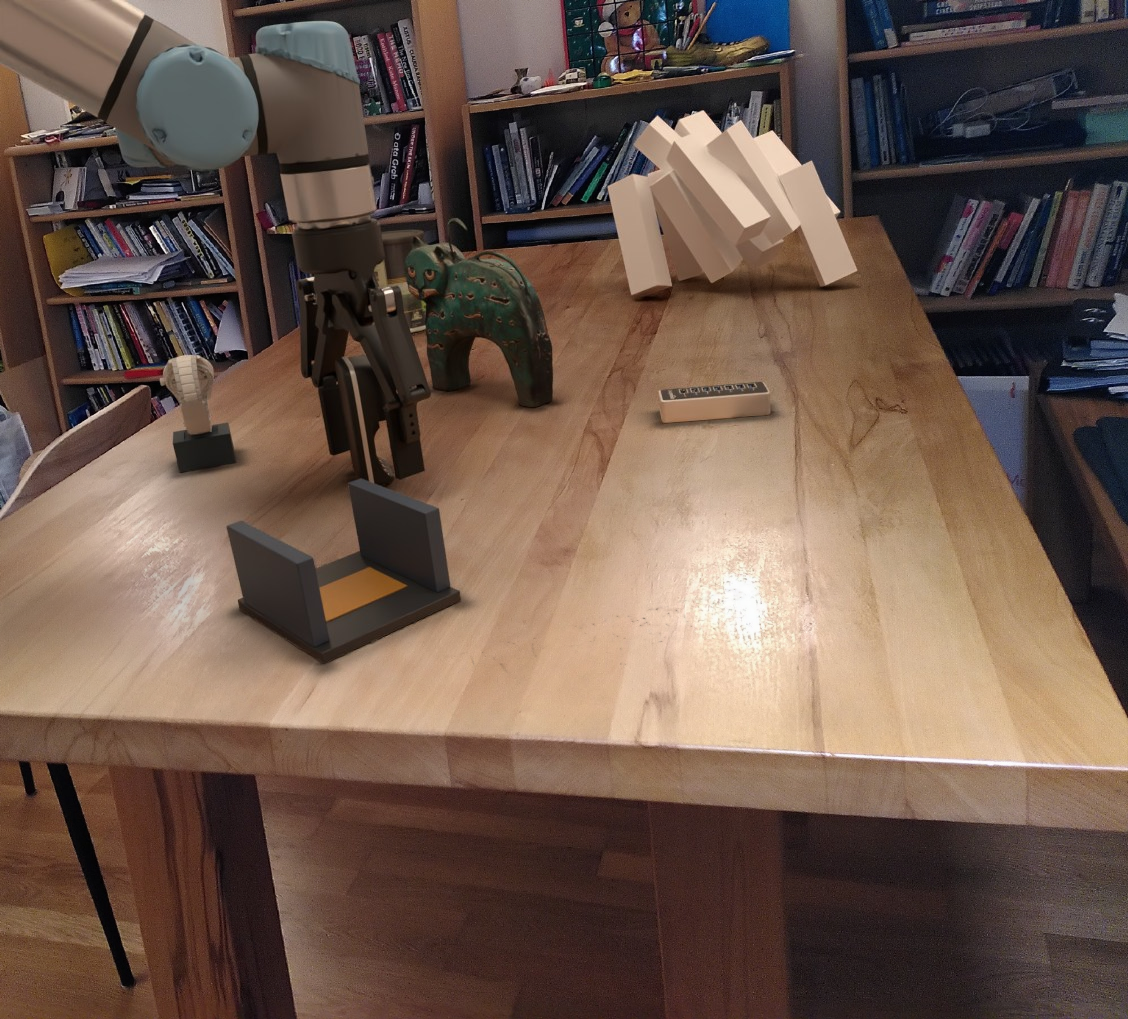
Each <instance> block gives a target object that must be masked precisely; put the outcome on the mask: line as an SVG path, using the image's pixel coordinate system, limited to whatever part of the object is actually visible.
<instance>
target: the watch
mask: <svg viewBox="0 0 1128 1019" xmlns="http://www.w3.org/2000/svg"><path fill="white" fill-rule="evenodd" d="M162 373H163V374H162V375H163V376H162V377H160V378H159V383H160V386H161V387H163V386H166V388H167V389H168V390H169V391H170V393H172V395H173V396H174V397H175V398H176V401H178V403H179V404H180V405H179V406H180V411H181V415H182V418H183V426H184V427H185V428H186V429H182V430H176V431H173V432H172V448H173V451H174V454H175V459H176V463H177V467H178V471H179V473H180V474H181V473H187V472H193V471H197V470H203V469H208V468H213V467H219V466H224V465H225V466H226V465H229V464H234V463H237V460H236V452H235V446H234V442H233V436H232V432H231V428H230V424H229V422H222V423H216V424H212V418H211V413H210V408H209V401H208V400H210V399H211V398H212V391H213V386H214V382H215V370H214V367H213V365H212V363H211V362H210V361H209V360H207V359H206V358H205V357H202V356H201V355H199V354H197V355H196V354H184V355H180V356H177V357H173V358H170V359H168V361H167V363H166V365H165V366H164V368H163V372H162Z"/></svg>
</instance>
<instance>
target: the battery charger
mask: <svg viewBox="0 0 1128 1019" xmlns="http://www.w3.org/2000/svg"><path fill="white" fill-rule="evenodd" d="M335 369H336V376H337V382H336V383H337V384H338V387H339V393H340V399H341V405H342V410H343V416H344V421H345V427H346V432H347V438H348V444H349V449H350V451H349V455H350V460H351V467H352V469H353V471H354V473H355V476H356V478H357V480H358V479H364V480H367V481H369V482H372V483H374V484H377V485H380V486H384V485H388V484H391V483H393V482H394V481H395V473H394V471H393V470H392V469H391V467H390V465H389V463H388V462H387V461H386V459H384V458H382V457H381V456H379V455H377V450H376V443H375V439H376V438H375V437H376V435H377V432H378V431H379V430H380V428H381V426H380V422H385V421H386V417H385V411H384V409H383V407H384V406H385V405H386V404H388V400H387V398H386V396H385V394H384V392H383V390H382V388H381V386H380V384H379V381H378V379H377V377H376V375H375V373H374V371H373V369H372V367H371V365H370V363H369V361H368V359H367V356H366V354H359V355H354V356H344V357H342V358H340V359H337V360H336V361H335Z"/></svg>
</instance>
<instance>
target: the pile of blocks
mask: <svg viewBox="0 0 1128 1019" xmlns="http://www.w3.org/2000/svg"><path fill="white" fill-rule="evenodd" d="M632 145H633V146H634V147H635V148H636V149H637V150H638V151H640V153H642V154H643V155H644V156H645V157H646V159H648V160H649V161H651V162H652V163H653V164H654V165H655V166H656V167H657V168H658V169H657V170H655V171H652V172H649V173H647V176H646V175H641V174H636V173H631V174H629V175H628V176H626V177H623V178H621V179H619V180H618V181H615V182H613V183H611V184H609V185H608V186H607V192H608V196H609V200H610V206H611V209H612V214H613V219H614V223H615V227H616V232H617V236H618V241H619V246H620V250H621V255H622V260H623V264H624V268H625V273H626V278H627V282H628V286H629V292H630V296H638V297H639V296H641V297H647V296H650V295H653V294H655V293H658V292H660V291H663V290H665V289H668V288H671V287H673V283H672V278H671V273H670V270H669V265H668V261H667V256H666V252H665V247H664V242H663V238H664V240H665V243H666V246H667V249H668V252H669V255H670V258H671V262H672V264H673V267H674V271H675V274H676V277H677V280H678V281H679V282H681V281H684V280H687V279H691V278H694V277H697V276H700V275H701V276H702V275H703V273H704V274H705V276H706V278H707V279H708V280H709V282H710V284H713V283H715V282H716V281H718V280H720V279H722V278H724V277H725V276H727V275H730V274H731V273H733V271H734V270H735V269H736V268H737V267H738V266H739V265H740V264H741V263H742V261H743V262H744V263H745V264H746V265H747V266H748V267H749V268H751V269H752V270H753V271H754V272H755V271H757V270H759V269H761V268H763V267H765V266H766V265H769V264H771V263H772V262H774V261H776V260H777V258H778V256H779V253H780V251H781V249H782V247H783V245H784V241H785V240H784V238H786V237H787V236H788V235H790V234H792V233H793V232H794V231H796V232H797V235H798V237H799V239H800V242H801V244H802V247H803V249H804V252H805V254H806V256H807V258H808V260H809V263H810V266H811V268H812V270H813V273H814V275H815V277H816V279H817V282H818V284H819V287H820V288H821V287H825V286H827V285H830V284H832V283H834V282H836V281H838V280H841V279H843V278H844V277H847V276H850V275H851V274H853V273H856V272H858V268H857V266H856V263H855V261H854V258H853V256H852V252H850V248H849V247H848V244H847V242H846V239H845V237H844V234H843V231H842V229H841V227H840V225H839V221H838V220H837V218H838V216H839V215H840V213H841V210H840V209H839V208H838V207H837V206H836V204H835V203H834V202H833V200H831V198H830V197H829V195H827V193H826V190H825V188H824V186H823V184H822V181H821V179H820V176H819V174H818V171H817V169H816V166H815V164H814V162H813V160H809V161H808V162H805V163H804V164H801V163H800V161H799V160H798V159H797V158H796V157H795V155H794V154H793V153H792V151H790V149H789V148H788V147H787V146H786V145H785V143H784V142H783V141H782V139H780V137H779V136H778V135H777V134H776V133H775V131H774V130H770V131H768V132H765V133H763V134H760V135H757V136H755V137H753V136H752V135H751V133H750V131H749V129H748V128H747V127H746V125H745V124H744V122H743V121H742V119H740V120H738V121H737V122H735V123H734V124H733V125H731V126H730V127H728V128H727V129H725V130H724V131H722V130H720V129H719V128H718V126H717V124H715V122H714V121H713V120H712V119H711V118H710V117H709V116H708V114H707V113H706V111H705V110H700V111H698V112H695V113H693V114H690V115H688V116H685V117H683V118H680V119H678V120H677V123H676V125H675V127H674V129H673V128H672V127H671V126H670V125H668V123H667V122H665V121H664V120H663V119H662V118H661V117H660V116H659V115H656V117H654V118H653V119H652V120H651V122H649V124H647V126H646V128H645V129H644V130H643V131H642V133H641V134H640V135H638V137H637V139H635V141H634V142H633V144H632ZM660 227H661V229H660ZM661 232H662V233H661ZM662 234H663V238H662Z"/></svg>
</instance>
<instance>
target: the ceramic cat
mask: <svg viewBox="0 0 1128 1019" xmlns="http://www.w3.org/2000/svg"><path fill="white" fill-rule="evenodd" d="M454 222H455V223H456V224H458V226H460V227H461V228H462V229H463V230H464V231H465V232H466V233H467V232H468V228H467V226H466V224H465V223H464V222H463V221H462V220H461V219H460V218H458V217H452V218H450V219H449V220H448V222H447V228H446V232H447V242H439V243H435V244H427V243H425V241H424V242H422V241H421V240H420V239H419V238H418V237H416V236H413V241H412V243H413V245H412V251H411V252H410V253H409V254H408V256H407V258H406V260H405V274H406V281H407V284H408V290H409V292H410V293H411V294H412V295H413V296H414V297H416V298H417V299H419V300H422V301H424V302H425V303H426V315H425V327H426V330H425V338H426V356H427V360H428V365H429V370H430V379H431V385H432V386H431V387H432V389H435V390H439V391H443V392H453V391H456V390H459V389H462V388H466V387H468V386H471V385H472V378H471V373H470V355H471V352H472V348H473V345H474V342H475V340H476V338H477V339H478V338H479V339H484V340H488V341H490V342H492V343H494V344H495V345H496V346H497V347H498V348H499V350H500V351H501V352H502V354H503V357H504V359H505V361H506V364H507V365H508V370H509V372H510V376H511V379H512V381H513V385H514V388H515V392H516V393H515V394H516V396H517V399H518V404H519V405H520V406H522V407H528V408H537V407H541V406H543V405H545V404H548V403H551V402H553V396H554V395H553V394H554V365H553V360H554V359H553V345H552V344H553V343H552V340H551V338H550V335H549V331H548V326H547V320H546V317H545V313H544V309H543V307H542V303H541V300H540V298H539V295H538V293H537V291H536V290H535V288H534V286H533V285H532V283H531V281H530V280H529V279H528V278H527V277H526V276H525V275H524V273H523V271H522V269H521V268H520V267H519V265H518V264H517V263H516V261H514V260H513V258H510V257H509V256H508V255H505V254H503V253H501V252H497V251H494V250H485V251H482V252H479V253H477V254H475V255H474V256H470V257H468V258H466V256H465V255H464V254H463V252H461V250H460V249H459V248H457V246H455V245H453V244H452V241H451V236H450V228H451V226H452V224H453V223H454ZM488 255H489V256H493V257H496V258H497V259H495V258H481V257H483V256H488ZM500 259H501V260H500Z"/></svg>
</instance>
